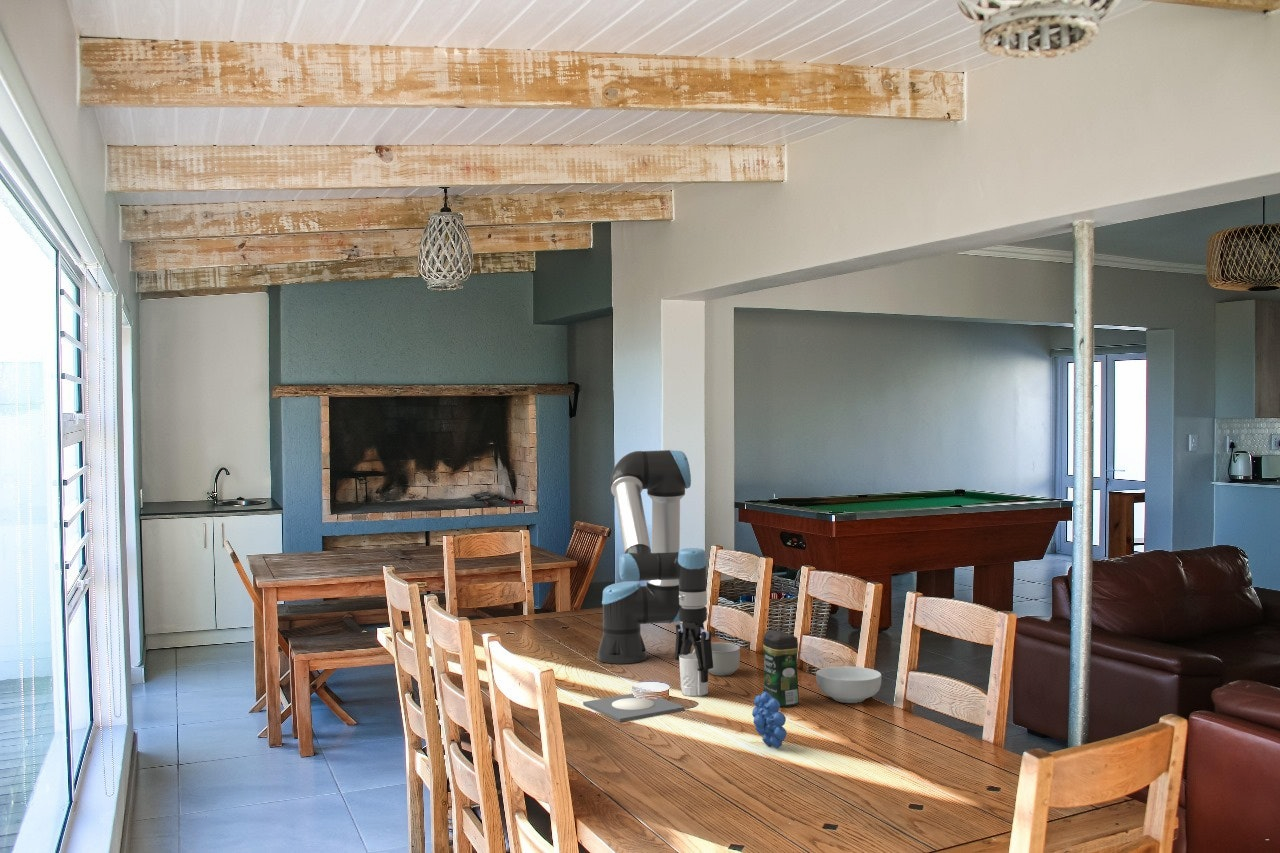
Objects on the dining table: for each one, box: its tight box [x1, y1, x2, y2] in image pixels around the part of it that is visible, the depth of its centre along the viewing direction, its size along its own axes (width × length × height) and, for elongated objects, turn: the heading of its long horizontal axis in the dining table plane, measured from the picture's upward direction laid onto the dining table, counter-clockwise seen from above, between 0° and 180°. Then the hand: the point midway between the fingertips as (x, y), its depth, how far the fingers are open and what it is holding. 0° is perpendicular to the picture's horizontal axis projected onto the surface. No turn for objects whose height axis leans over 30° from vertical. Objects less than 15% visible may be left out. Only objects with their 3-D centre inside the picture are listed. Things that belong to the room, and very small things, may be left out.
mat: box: [582, 693, 685, 723], centre depth 278 cm, size 19×19×1 cm
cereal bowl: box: [815, 665, 882, 704], centre depth 283 cm, size 17×17×7 cm
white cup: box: [678, 652, 706, 697], centre depth 292 cm, size 8×8×10 cm
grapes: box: [751, 691, 787, 749], centre depth 244 cm, size 12×7×12 cm, turn 28°
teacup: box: [692, 641, 741, 677], centre depth 314 cm, size 14×11×8 cm
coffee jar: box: [762, 629, 800, 708], centre depth 280 cm, size 10×8×19 cm
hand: (694, 690), depth 292 cm, fingers closed on white cup, 7 cm apart
